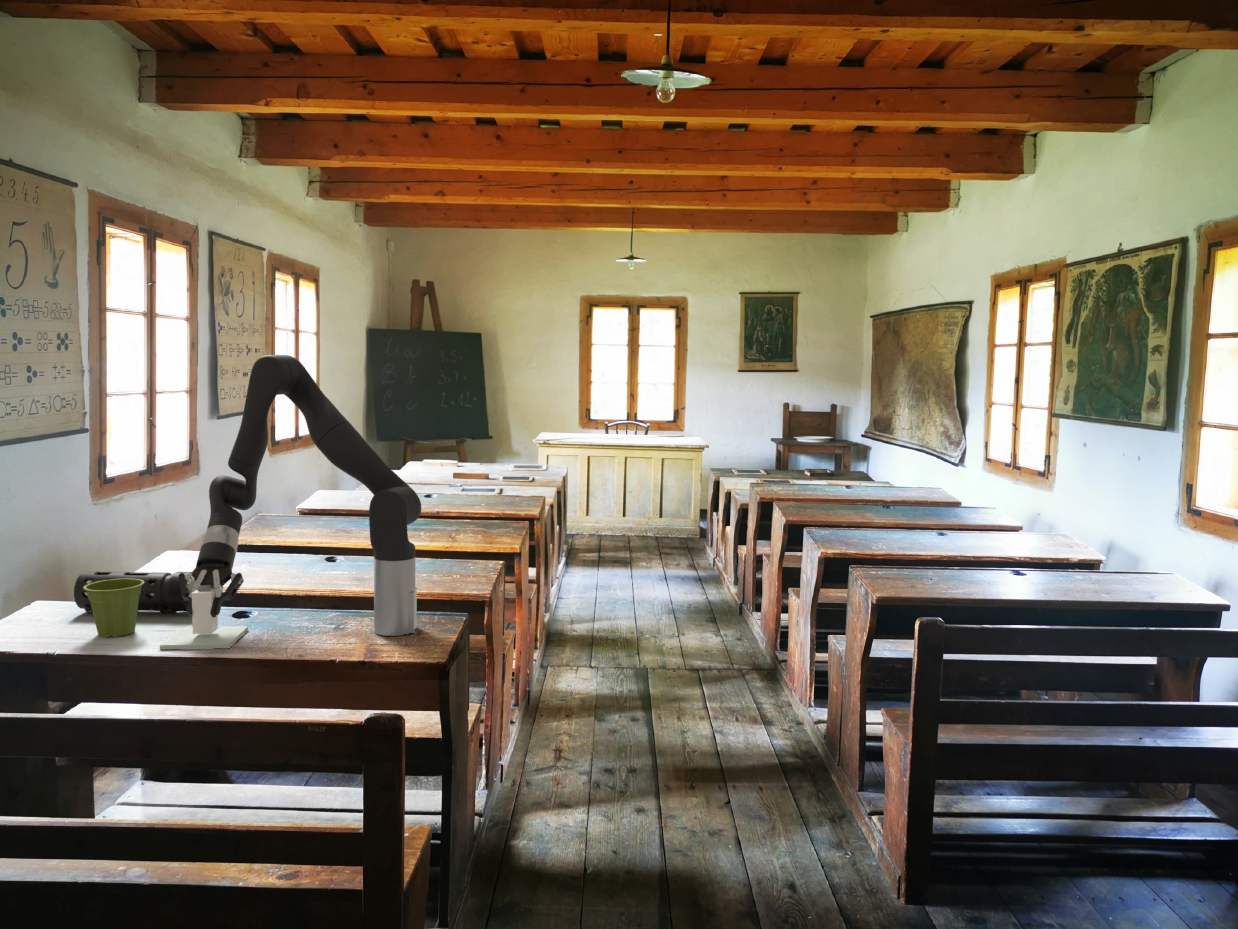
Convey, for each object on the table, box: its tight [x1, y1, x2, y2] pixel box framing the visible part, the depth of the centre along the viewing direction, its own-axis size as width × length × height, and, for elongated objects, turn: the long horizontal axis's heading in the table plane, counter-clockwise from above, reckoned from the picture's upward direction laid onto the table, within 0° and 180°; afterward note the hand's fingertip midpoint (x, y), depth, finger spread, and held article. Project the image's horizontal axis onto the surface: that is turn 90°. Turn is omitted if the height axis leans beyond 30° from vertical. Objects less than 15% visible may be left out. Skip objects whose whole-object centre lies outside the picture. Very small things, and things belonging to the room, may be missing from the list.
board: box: [159, 625, 249, 650], centre depth 198 cm, size 14×14×1 cm
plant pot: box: [83, 578, 144, 638], centre depth 200 cm, size 12×12×11 cm
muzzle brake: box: [73, 570, 196, 615], centre depth 218 cm, size 10×28×10 cm, turn 91°
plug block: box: [191, 586, 219, 634], centre depth 197 cm, size 4×4×10 cm
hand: (202, 615), depth 195 cm, fingers closed on plug block, 4 cm apart
